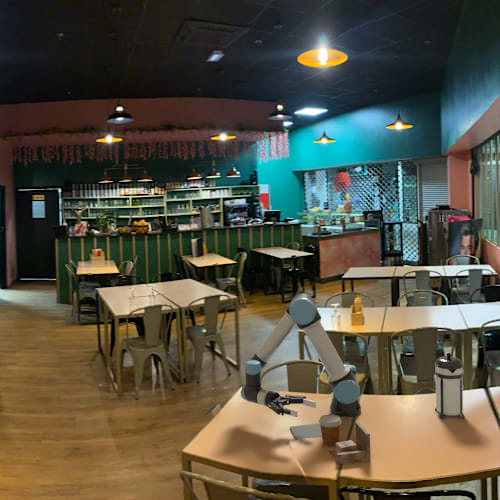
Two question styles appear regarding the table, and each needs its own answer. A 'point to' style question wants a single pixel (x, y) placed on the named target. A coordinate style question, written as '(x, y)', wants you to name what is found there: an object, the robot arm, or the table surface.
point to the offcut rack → (362, 447)
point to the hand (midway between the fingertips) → (306, 409)
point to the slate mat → (306, 431)
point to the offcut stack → (346, 446)
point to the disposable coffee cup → (330, 429)
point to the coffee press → (449, 386)
